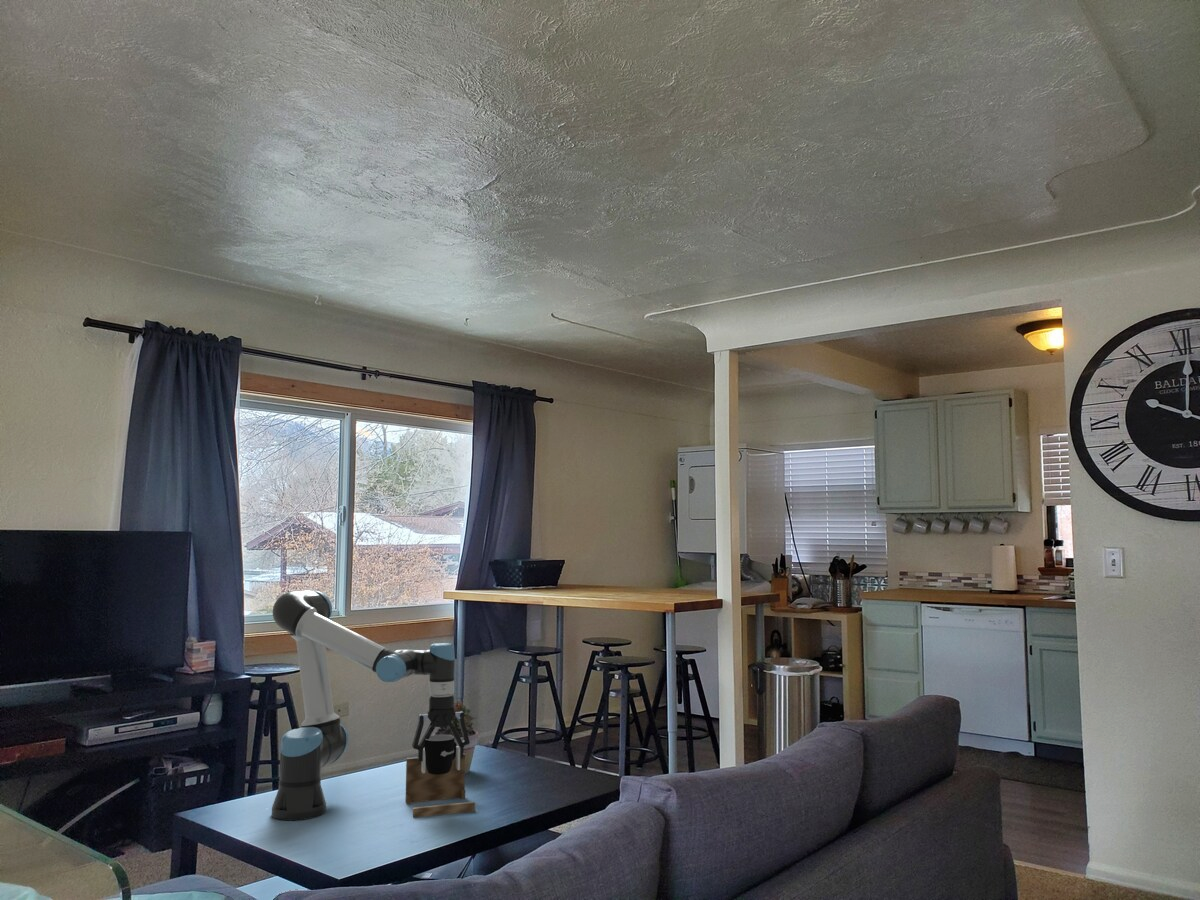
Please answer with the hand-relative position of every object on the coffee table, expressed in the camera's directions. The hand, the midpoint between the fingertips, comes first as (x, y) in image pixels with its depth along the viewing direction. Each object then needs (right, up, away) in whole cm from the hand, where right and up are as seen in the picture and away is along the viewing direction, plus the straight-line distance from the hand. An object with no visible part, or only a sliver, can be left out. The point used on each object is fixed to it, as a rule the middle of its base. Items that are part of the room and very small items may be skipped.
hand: (440, 770), depth 264 cm
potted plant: (-3, -16, +41) cm, 44 cm away
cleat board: (0, -10, -1) cm, 10 cm away
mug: (0, 0, 0) cm, 1 cm away
